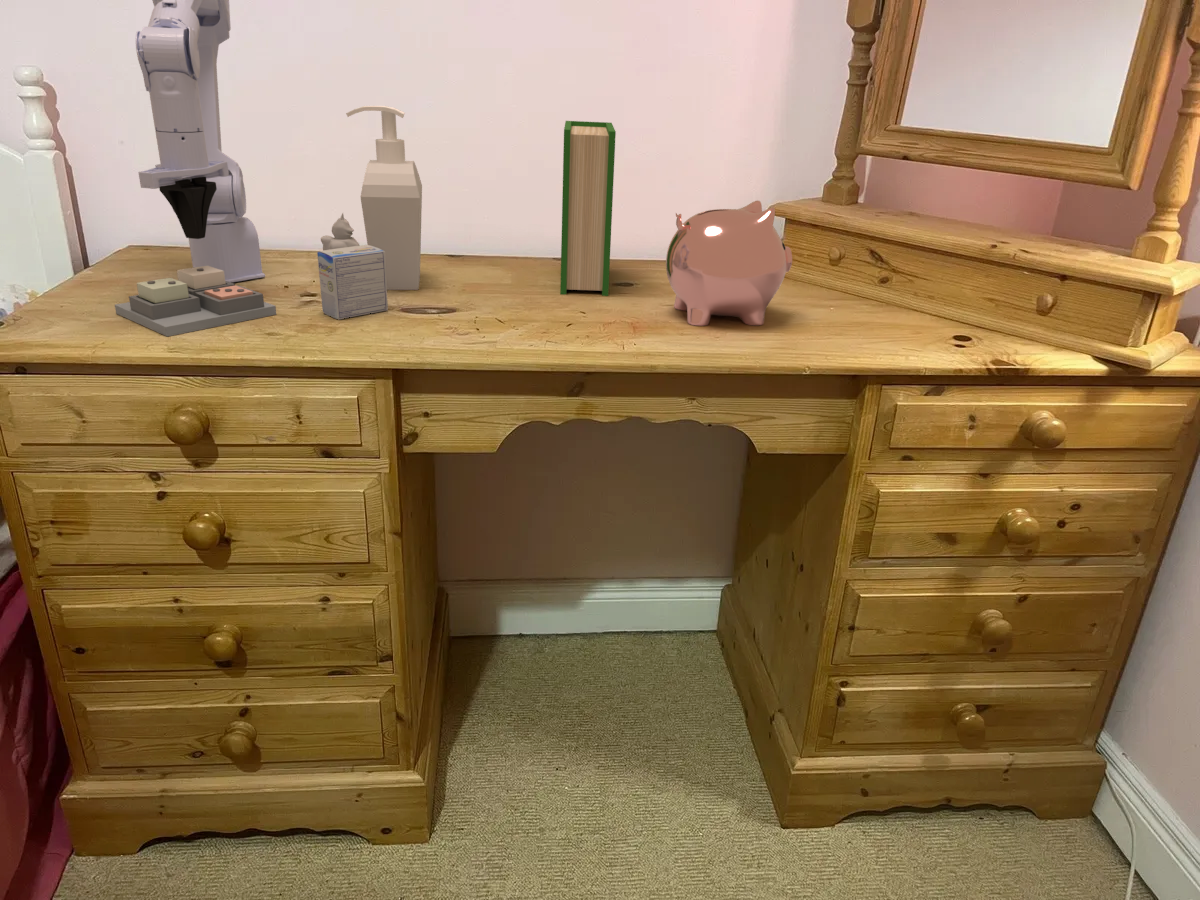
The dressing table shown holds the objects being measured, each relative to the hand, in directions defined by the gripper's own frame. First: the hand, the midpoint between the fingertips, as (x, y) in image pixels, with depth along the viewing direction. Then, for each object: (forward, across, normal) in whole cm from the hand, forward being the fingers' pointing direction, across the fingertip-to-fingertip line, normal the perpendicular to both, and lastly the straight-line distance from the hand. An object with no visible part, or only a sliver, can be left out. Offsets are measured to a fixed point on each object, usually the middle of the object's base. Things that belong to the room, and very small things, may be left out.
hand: (195, 237), depth 119 cm
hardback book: (+10, -36, +44) cm, 58 cm away
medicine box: (+10, -5, +20) cm, 23 cm away
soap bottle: (+10, -22, +17) cm, 29 cm away
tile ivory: (+6, 0, 0) cm, 6 cm away
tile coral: (+8, +3, +6) cm, 10 cm away
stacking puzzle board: (+9, +4, +2) cm, 10 cm away
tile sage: (+6, +8, 0) cm, 10 cm away
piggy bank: (+10, -25, +69) cm, 74 cm away
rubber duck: (+10, -33, +1) cm, 35 cm away
